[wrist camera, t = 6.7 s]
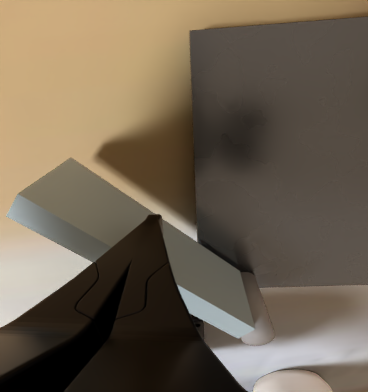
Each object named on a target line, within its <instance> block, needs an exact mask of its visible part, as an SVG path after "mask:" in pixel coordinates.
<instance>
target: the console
mask: <svg viewBox="0 0 368 392" xmlns="http://www.w3.org/2000/svg"><path fill="white" fill-rule="evenodd" d="M189 38H190V64H191V90H192V116H193V141H194V167H195V193H196V219H197V243H199V244H200V245H202V246H203V247H205V248H206V249H208V250H209V251H211V252H212V253H214V254H215V255H217V256H218V257H220V258H221V259H223V260H224V261H226V262H227V263H229V264H230V265H232V266H233V267H235V268H236V269H238V270H239V271H240V272H249V273H252V274H253V275H254V276H255V277H256V280H257V283H258V286H259V288H264V287H300V286H336V285H368V17H357V18H345V19H332V20H319V21H306V22H294V23H281V24H268V25H256V26H243V27H230V28H217V29H205V30H192V31H190V33H189Z"/></svg>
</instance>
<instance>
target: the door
mask: <svg viewBox="0 0 368 392" xmlns="http://www.w3.org/2000/svg"><path fill="white" fill-rule="evenodd" d="M149 214H154V213H153V212H151V211H150V210H148V209H147V208H145V207H144V206H142V205H141V204H140V203H138V202H137V201H135V200H134V199H132V198H131V197H129V196H128V195H126V194H125V193H123V192H122V191H120V190H119V189H117V188H116V187H114V186H113V185H111V184H110V183H108V182H107V181H105V180H104V179H102V178H101V177H99V176H98V175H96V174H95V173H93V172H92V171H90V170H89V169H88V168H86V167H85V166H83V165H82V164H80V163H79V162H77V161H76V160H74V159H73V158H69V159H68V160H66V161H65V162H64V163H62V164H61V165H59V166H58V167H56V168H55V169H53V170H52V171H50V172H49V173H47V174H46V175H45V176H43V177H42V178H40V179H39V180H37V181H36V182H34V183H33V184H31V185H30V186H28V187H27V188H26V189H24V190H23V191H21V192H20V193H18V194H17V196H16V198H15V200H14V202H13V204H12V206H11V208H10V210H9V212H8V214H7V216H6V217H8V218H10V219H12V220H14V221H16V222H18V223H20V224H21V225H23V226H25V227H27V228H29V229H31V230H33V231H35V232H37V233H39V234H40V235H42V236H44V237H46V238H48V239H50V240H52V241H54V242H56V243H57V244H59V245H61V246H63V247H65V248H67V249H69V250H71V251H73V252H74V253H76V254H78V255H80V256H82V257H84V258H86V259H88V260H90V261H92V262H95V261H96V260H97V259H98V258H99V257H101V256H102V255H103V254H104V253H105V252H107V251H108V250H109V249H110V248H112V247H113V246H114V245H115V244H116V243H118V242H119V241H120V240H121V239H122V238H124V237H125V236H126V235H127V234H129V233H130V232H131V231H132V230H133V229H135V228H136V227H137V226H138V225H139V224H141V223H142V222H143V221H144V220H145V219H146V218H147V216H148V215H149ZM162 223H163V238H164V241H165V245H166V249H167V253H168V257H169V261H170V264H171V268H172V272H173V275H174V278H175V281H176V284H177V286H178V289H179V291H180V293H181V296H182V298H183V300H184V302H185V304H186V306H187V309H188V311H189V313H190V314H192V315H194V316H196V317H198V318H200V319H201V320H203V321H205V322H207V323H209V324H211V325H213V326H215V327H217V328H218V329H220V330H222V331H224V332H226V333H228V334H230V335H232V336H234V337H236V338H237V339H238V338H240V337H241V339H242V341H243V342H244V343H245V344H248V345H252V346H260V345H265V344H267V343H269V342H271V341H272V340H273V339H274V338H275V333H274V330H273V327H272V324H271V321H270V318H269V315H268V312H267V309H266V306H265V303H264V300H263V298H262V295H261V292H260V289H259V286H258V283H257V280H256V277H255V276H254V275H253V274H252V273H249V272H240V271H239V270H238V269H236V268H235V267H233V266H232V265H230V264H229V263H227V262H226V261H224V260H223V259H221V258H220V257H218V256H217V255H215V254H214V253H212V252H211V251H209V250H208V249H206V248H205V247H203V246H202V245H200V244H199V243H197V242H196V241H194V240H193V239H191V238H190V237H189V236H187V235H186V234H184V233H183V232H181V231H180V230H178V229H177V228H175V227H174V226H172V225H171V224H169V223H168V222H166V221H165V220H163V219H162ZM95 263H96V262H95Z"/></svg>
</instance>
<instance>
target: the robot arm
mask: <svg viewBox="0 0 368 392" xmlns="http://www.w3.org/2000/svg"><path fill="white" fill-rule="evenodd" d="M95 262H96V263H95ZM95 262H93V263H92V264H91V265H90V266H88V267H87V268H86V269H85V270H83V271H82V272H81V273H80V274H78V275H77V276H76V277H75V278H73V279H72V280H71V281H69V282H68V283H66V284H65V285H64V286H62V287H61V288H60V289H58V290H57V291H55V292H54V293H52V294H51V295H50V296H48V297H47V298H45V299H44V300H42V301H41V302H40V303H38V304H37V305H35V306H34V307H33V308H31V309H30V310H28V311H27V312H25V313H24V314H23V315H21V316H20V317H18V318H17V319H15V320H14V321H12V322H10V323H9V324H7V325H5V326H3V327H1V328H0V392H248V391H246V390H245V389H244V388H243V387H242V386H241V385H240V384H239V383H238V382H237V381H236V380H235V378H234V377H233V376H232V375H231V373H230V372H229V371H228V370H227V369H226V367H225V366H224V365H223V364H222V363H221V361H220V360H219V359H218V358H217V357H216V355H215V354H214V353H213V352H212V351H211V349H210V348H209V347H208V346H207V344H206V343H205V342H204V323H203V320H201V319H200V318H198V317H191V315H190V313H189V311H188V309H187V306H186V304H185V302H184V300H183V298H182V296H181V293H180V291H179V289H178V286H177V284H176V281H175V278H174V275H173V272H172V268H171V264H170V261H169V257H168V253H167V249H166V245H165V241H164V238H163V223H162V216H161V215H160V214H149V215H148V216H147V218H146V219H145V220H144V221H143V222H142V223H141V224H139V225H138V226H137V227H136V228H135V229H133V230H132V231H131V232H130V233H129V234H127V235H126V236H125V237H124V238H122V239H121V240H120V241H119V242H118V243H116V244H115V245H114V246H113V247H112V248H110V249H109V250H108V251H107V252H105V253H104V254H103V255H102V256H101V257H99V258H98V259H97V260H96V261H95Z"/></svg>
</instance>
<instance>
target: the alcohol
mask: <svg viewBox="0 0 368 392" xmlns="http://www.w3.org/2000/svg"><path fill="white" fill-rule="evenodd" d="M253 392H333V391H332V389H331V387H330V386H329V385H328V384H327V383H326V382H325V381H324V380H323V379H322V378H321V377H320V376H319V375H318V374H316V373H314V372H311V371H307V370H298V369H291V370H281V371H276V372H273V373H270V374H267V375H265V376H263V377H261V378H260V379H258V380H257V381H256V383H255V385H254V389H253Z"/></svg>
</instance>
